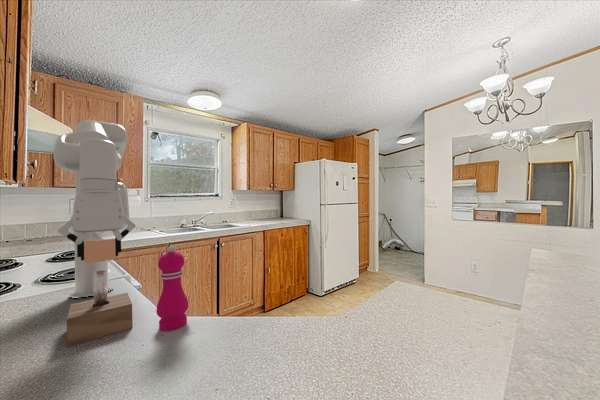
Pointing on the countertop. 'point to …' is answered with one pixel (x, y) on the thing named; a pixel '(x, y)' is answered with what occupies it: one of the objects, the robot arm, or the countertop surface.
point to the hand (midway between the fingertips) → (100, 256)
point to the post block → (98, 319)
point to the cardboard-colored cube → (99, 250)
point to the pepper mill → (172, 292)
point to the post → (100, 287)
